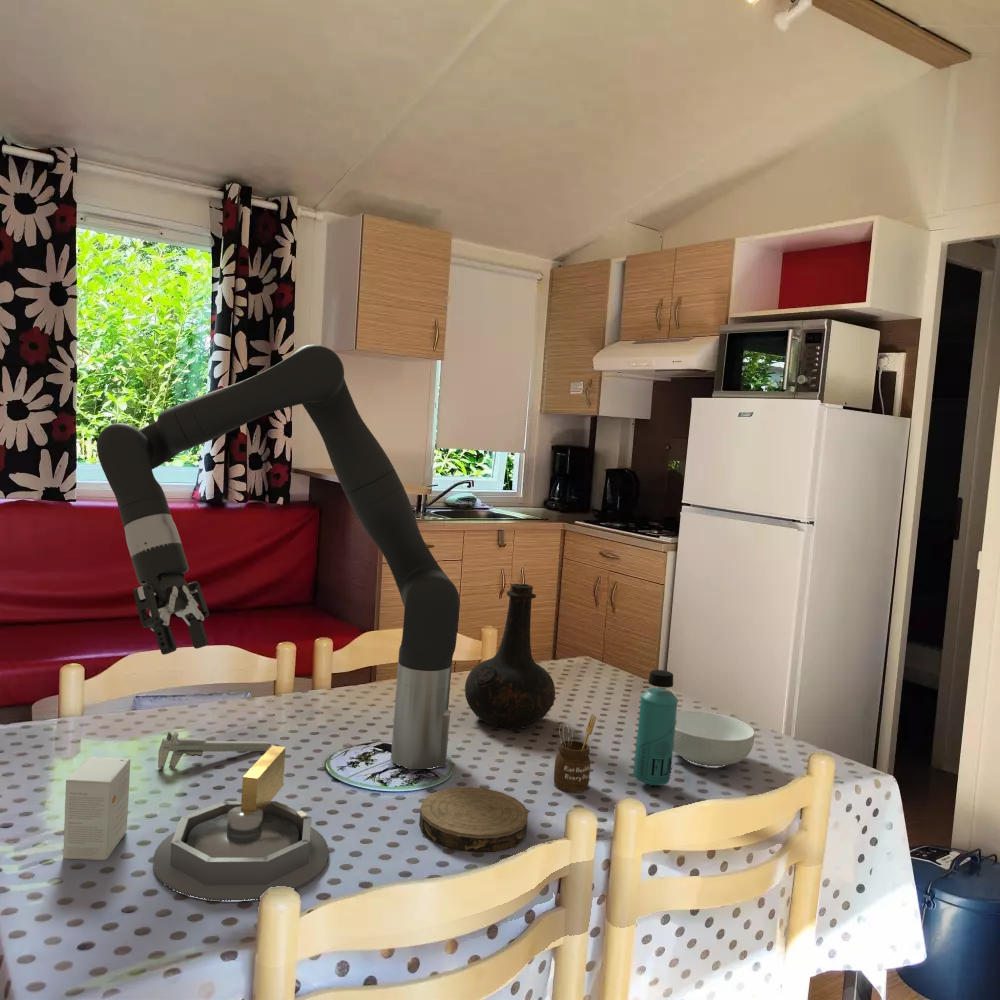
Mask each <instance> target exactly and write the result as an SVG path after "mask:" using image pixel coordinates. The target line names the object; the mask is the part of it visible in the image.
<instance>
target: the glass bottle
mask: <svg viewBox="0 0 1000 1000" xmlns="http://www.w3.org/2000/svg"><path fill="white" fill-rule="evenodd" d="M533 590H534V586H532V585H531V584H527V583H524V584H523V583H522V584H521V583H520V584H519V583H511V585H510V589H509V590H507V592H506V596H508V597H509V602H508V609H507V614H506V621H505V626H504V629H503V635H502V639H501V642H500V645H499V647H498V651H497V652H496V654H495V655H494V656H493V657H492V658H489V659H486V660H483V661H481V662H479V663H477V664H476V666H474V667H473V668H472V669H471V671H469V674H468V675H467V677H466V680H465V683H464V695H465V700H466V702H467V705H468V706H469V708H470V710H471V711H472V712H473V713H474V714H475V716H476V717H478V719H480V720H481V721H484V722H486V723H487V724H489V725H492V726H495V727H499V728H502V727H503V729H510V728H511V729H512V730H513V729H514V730H518V729H519V728H520V729H525V728H529V727H531V726H533V725H535V724H536V723H538V722H540V721H541V720H542V719H543V718H544V717H545V716H546V715H547V714H548V713H549V711H550V710H551V708H552V707H553V706H554V702H555V700H556V687H555V683H554V680H553V678H552V676H551V675H550V673H549V672H548V671H547V670H546V669H545V668H543V667H542V666H541V665H540V664H538V663H536V662H535V661H534V658H533V655H532V647H531V622H532V621H531V617H532V616H531V615H532V599H535V598H537V595H536V594H534V593H533Z"/></svg>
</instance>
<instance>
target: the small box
mask: <svg viewBox="0 0 1000 1000" xmlns="http://www.w3.org/2000/svg"><path fill="white" fill-rule="evenodd" d="M130 773H131V758H124V757H106V756H105V757H104V756H102V757H101V756H88V757H87V758H86V759H85V760H84V761H83V762H82V763H81V764H80V765H79V766H78V768H76V770H75V771H74V772H73V773H72V774H71V775H70V776H69V777H68V778H67V779H66V780H65V800H64V801H65V802H64V803H65V806H64V825H63V826H64V828H63V850H62V851H63V852H62V854H63V855H62V858H63V859H65V860H87V861H88V860H89V861H90V860H93V861H107V860H108V858H109V857H110V855H111V854H112V853H113V852H114V850H115V848H116V847H117V845H119V843H120V841H121V840H122V838H123V837H124V836H125V834H126V833H127V830H128V816H129V815H128V814H129V812H128V811H129V795H130V794H129V793H130Z"/></svg>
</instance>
